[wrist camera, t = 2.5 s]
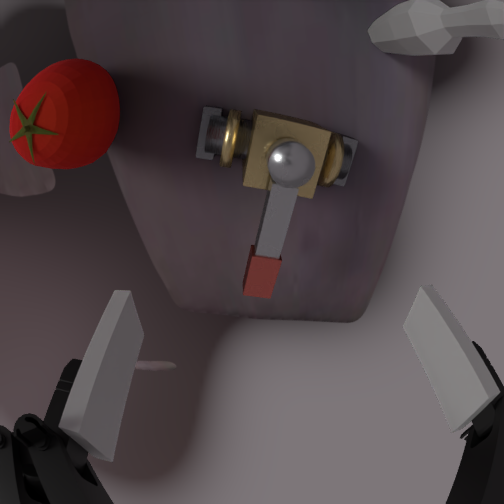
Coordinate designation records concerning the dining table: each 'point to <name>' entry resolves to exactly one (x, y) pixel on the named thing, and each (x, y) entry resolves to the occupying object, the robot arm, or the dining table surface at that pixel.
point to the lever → (276, 213)
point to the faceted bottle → (435, 26)
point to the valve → (263, 136)
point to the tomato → (66, 115)
